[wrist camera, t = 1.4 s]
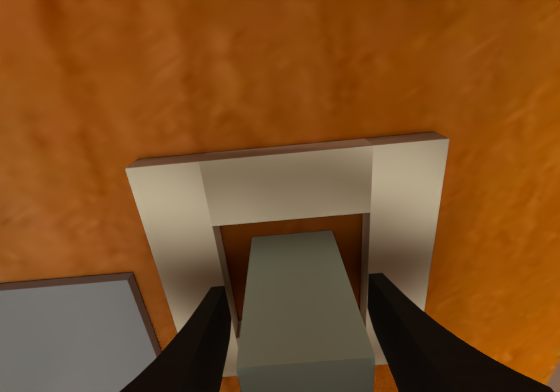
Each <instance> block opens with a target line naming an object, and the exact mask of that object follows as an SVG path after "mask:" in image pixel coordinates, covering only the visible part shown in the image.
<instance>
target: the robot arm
mask: <svg viewBox="0 0 560 392" xmlns="http://www.w3.org/2000/svg"><path fill="white" fill-rule="evenodd" d="M367 309H368V312H369V316H370V320H371V323H372V326H373V330H374V332H375V335H376V337H377V339H378V342H379V344H380V347H381V349H382V351H383V354H384V356H385V358H386V361H387V363H388V366H389V368H390V370H391V373H392V375H393V377H394V380H395V383H396V385H397V388H398V391H399V392H554V391H553V390H552V389H551V388H550V387H548V386H546V385H544V384H542V383H540V382H538V381H535V380H533V379H531V378H529V377H527V376H525V375H523V374H521V373H519V372H516V371H515V370H513V369H511V368H509V367H507V366H505V365H503V364H501V363H499V362H498V361H496V360H494V359H492V358H490V357H489V356H487V355H485V354H483V353H482V352H480V351H478V350H477V349H475V348H474V347H472V346H470V345H469V344H467V343H466V342H464V341H463V340H461V339H459V338H458V337H456V336H455V335H454V334H452V333H451V332H449V331H448V330H447V329H445V328H444V327H442V326H441V325H440V324H438V323H437V322H436V321H435V320H433V319H432V318H431V317H430V316H428V315H427V314H426V313H425V312H424V311H422V310H421V309H420V308H419V307H418V306H417V305H416V304H415V303H413V302H412V301H411V300H410V299H409V298H408V297H407V296H406V295H405V294H404V293H403V292H402V291H400V290H399V289H398V288H397V287H396V286H395V285H394V284H393V283H392V282H391V281H390V280H389V279H388V278H387V277H386V276H385V275H384V274H383V273H372V274H369V277H368V301H367ZM231 321H232V318H231V313H230V309H229V304H228V299H227V294H226V290H225V286H215V287H211V288H210V289H209V291H208V292H207V294H206V295H205V297H204V298H203V300H202V301H201V303H200V304H199V306H198V307H197V308H196V310H195V311H194V313H193V314H192V315H191V317H190V318H189V319H188V321H187V322H186V324H185V325H184V326H183V327H182V329H181V330H180V331H179V332H178V334H177V335H176V336H175V337H174V339H173V340H172V341H171V342H170V343H169V344H168V346H167V347H166V348H165V349H164V350H163V351H162V352H161V353H160V354H159V355H158V356H157V357H156V359H155V360H154V361H153V362H152V363H150V364H149V365H148V366H147V367H146V368H145V369H144V370H143V371H142V372H141V373H140V374H139V375H138V376H137V377H136V378H135V379H134V380H132V381H131V382H130V383H129V384H128V385H127V386H125V387H124V388H123V389H122V390H121V391H119V392H219V391H220V386H221V381H222V376H223V371H224V367H225V362H226V357H227V352H228V347H229V342H230V333H231Z"/></svg>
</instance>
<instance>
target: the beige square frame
mask: <svg viewBox="0 0 560 392" xmlns="http://www.w3.org/2000/svg"><path fill="white" fill-rule="evenodd" d="M448 145H449V138H447V137H445V136H442V135H440V134H438V133H436V132H429V133H418V134H408V135H397V136H386V137H375V138H364V139H353V140H343V141H332V142H321V143H310V144H299V145H289V146H278V147H267V148H256V149H245V150H234V151H224V152H213V153H202V154H191V155H180V156H169V157H159V158H148V159H137V160H136V161H135V162H133V163H132V164H130V165H129V166H128V167H126V168H125V170H126V173H127V176H128V179H129V183H130V186H131V189H132V192H133V195H134V198H135V201H136V204H137V208H138V211H139V214H140V217H141V220H142V223H143V226H144V229H145V232H146V236H147V239H148V242H149V245H150V248H151V251H152V254H153V257H154V261H155V264H156V267H157V270H158V273H159V276H160V279H161V282H162V286H163V289H164V292H165V295H166V298H167V301H168V304H169V307H170V310H171V314H172V317H173V320H174V323H175V326H176V329H177V332H179V331H180V330H181V329H182V327H183V326H184V325H185V324H186V322H187V321H188V319H189V318H190V317H191V315H192V314H193V313H194V311H195V310H196V308H197V307H198V306H199V304H200V303H201V301H202V300H203V298H204V297H205V295H206V294H207V292H208V291H209V289H210V288H211V287H215V286H225V290H226V294H227V299H228V304H229V309H230V313H231V318H232V321H231V333H230V342H229V347H228V352H227V357H226V362H225V367H224V371H223V376H222V377H226V376H238V375H237V371H236V363H237V354H238V346H239V338H240V330H241V322H242V321H238V317H237V312H236V307H235V302H234V297H233V292H232V287H231V282H230V277H229V272H228V267H227V262H226V257H225V252H224V247H223V242H222V237H221V232H220V227H219V226H221V225H232V224H244V223H255V222H267V221H278V220H290V219H301V218H313V217H324V216H335V215H347V214H358V213H363V222H362V257H361V292H360V314H361V317H362V320H363V322H364V325H365V328H366V331H367V334H368V337H369V340H370V343H371V346H372V349H373V352H374V355H375V365H382V364H388V363H387V361H386V358H385V356H384V354H383V351H382V349H381V347H380V344H379V342H378V339H377V337H376V335H375V332H374V330H373V326H372V323H371V320H370V316H369V312H368V309H367V301H368V277H369V274H372V273H383V274H384V275H385V276H386V277H387V278H388V279H389V280H390V281H391V282H392V283H393V284H394V285H395V286H396V287H397V288H398V289H399V290H400V291H402V292H403V293H404V294H405V295H406V296H407V297H408V298H409V299H410V300H411V301H412V302H413V303H415V304H416V305H417V306H418V307H419V308H420V309H421V310H422V311H424V308H425V302H426V295H427V288H428V281H429V274H430V267H431V261H432V254H433V247H434V240H435V233H436V227H437V220H438V213H439V206H440V199H441V192H442V186H443V179H444V172H445V165H446V158H447V152H448Z"/></svg>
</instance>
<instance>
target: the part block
mask: <svg viewBox="0 0 560 392" xmlns="http://www.w3.org/2000/svg"><path fill="white" fill-rule="evenodd" d="M374 370H375V355H374V352H373V349H372V346H371V343H370V340H369V337H368V334H367V331H366V328H365V325H364V322H363V320H362V317H361V314H360V311H359V308H358V305H357V302H356V299H355V296H354V293H353V290H352V287H351V284H350V282H349V279H348V276H347V273H346V270H345V267H344V264H343V261H342V258H341V255H340V252H339V249H338V247H337V244H336V241H335V238H334V235H333V232H332V230H327V231H316V232H304V233H292V234H281V235H269V236H258V237H252V241H251V250H250V258H249V266H248V274H247V282H246V290H245V298H244V306H243V314H242V322H241V330H240V338H239V346H238V354H237V363H236V371H237V375H238V380H239V384H240V389H241V392H373V386H374Z"/></svg>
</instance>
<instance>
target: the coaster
mask: <svg viewBox="0 0 560 392" xmlns="http://www.w3.org/2000/svg"><path fill="white" fill-rule="evenodd" d="M160 353H161V349H160V347H159V344H158V341H157V338H156V336H155V333H154V330H153V327H152V325H151V322H150V319H149V316H148V314H147V311H146V308H145V305H144V303H143V300H142V297H141V295H140V292H139V289H138V286H137V284H136V281H135V278H134V275H133V273H120V274H108V275H96V276H85V277H73V278H61V279H49V280H37V281H25V282H14V283H2V284H0V392H119V391H121V390H122V389H123V388H124V387H125V386H127V385H128V384H129V383H130V382H131V381H132V380H134V379H135V378H136V377H137V376H138V375H139V374H140V373H141V372H142V371H143V370H144V369H145V368H146V367H147V366H148V365H149V364H150V363H152V362H153V361H154V360H155V359H156V357H157V356H158V355H159V354H160Z"/></svg>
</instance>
